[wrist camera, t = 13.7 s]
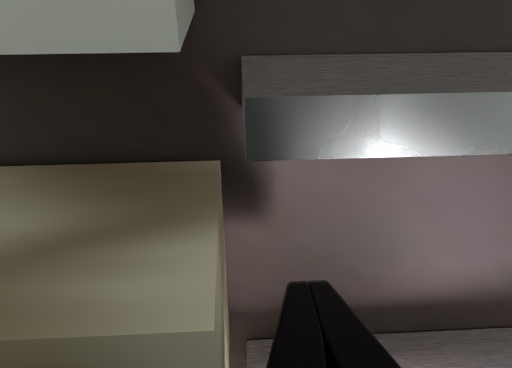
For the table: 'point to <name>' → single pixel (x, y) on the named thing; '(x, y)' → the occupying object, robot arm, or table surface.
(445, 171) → the table surface
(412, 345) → the slide rails
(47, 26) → the tray
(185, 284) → the slider
